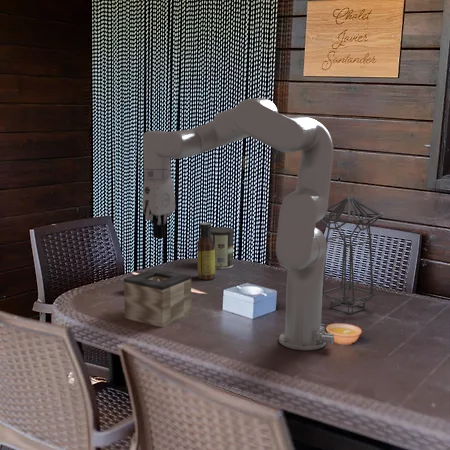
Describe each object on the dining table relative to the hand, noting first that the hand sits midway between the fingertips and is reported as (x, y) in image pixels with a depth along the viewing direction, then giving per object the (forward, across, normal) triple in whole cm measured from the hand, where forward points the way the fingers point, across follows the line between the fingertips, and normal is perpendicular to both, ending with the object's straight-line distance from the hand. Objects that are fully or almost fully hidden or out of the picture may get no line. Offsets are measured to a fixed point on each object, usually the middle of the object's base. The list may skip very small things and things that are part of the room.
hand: (159, 237), depth 199 cm
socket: (+24, 0, +1) cm, 24 cm away
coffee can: (+24, +59, +17) cm, 66 cm away
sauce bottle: (+24, +42, +12) cm, 50 cm away
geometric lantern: (+25, +39, -42) cm, 63 cm away
